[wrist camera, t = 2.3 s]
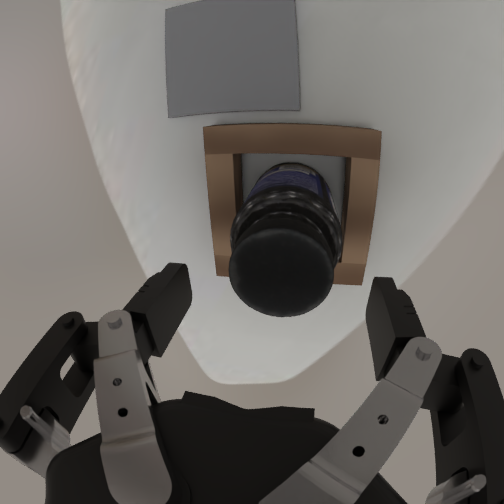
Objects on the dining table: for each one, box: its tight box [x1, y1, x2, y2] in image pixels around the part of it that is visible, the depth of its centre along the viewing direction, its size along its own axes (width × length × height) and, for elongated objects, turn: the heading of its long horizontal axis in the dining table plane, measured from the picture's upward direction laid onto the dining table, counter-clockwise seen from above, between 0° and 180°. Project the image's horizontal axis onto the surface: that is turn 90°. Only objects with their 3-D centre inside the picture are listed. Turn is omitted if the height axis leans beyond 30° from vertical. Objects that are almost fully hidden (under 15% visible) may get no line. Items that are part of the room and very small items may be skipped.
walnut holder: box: [203, 123, 382, 285], centre depth 20 cm, size 12×12×2 cm
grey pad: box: [165, 0, 300, 118], centre depth 16 cm, size 10×10×1 cm
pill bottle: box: [229, 163, 343, 317], centre depth 17 cm, size 6×6×11 cm
